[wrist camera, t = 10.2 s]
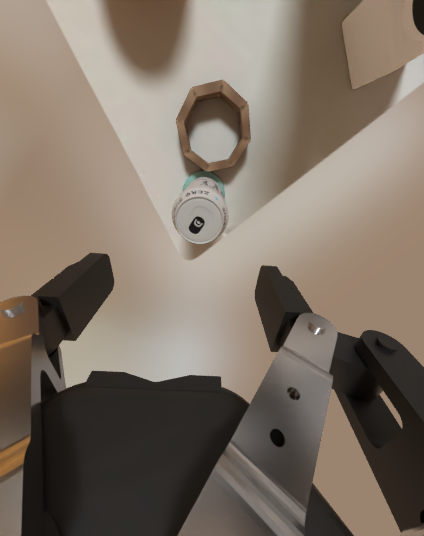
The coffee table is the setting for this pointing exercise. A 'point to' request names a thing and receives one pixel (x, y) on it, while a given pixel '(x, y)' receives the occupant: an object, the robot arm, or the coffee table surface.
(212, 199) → the energy drink can
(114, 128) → the coffee table surface
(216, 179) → the coaster
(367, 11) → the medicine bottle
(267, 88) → the coffee table surface
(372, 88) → the coffee table surface
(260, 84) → the coffee table surface
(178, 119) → the collar
